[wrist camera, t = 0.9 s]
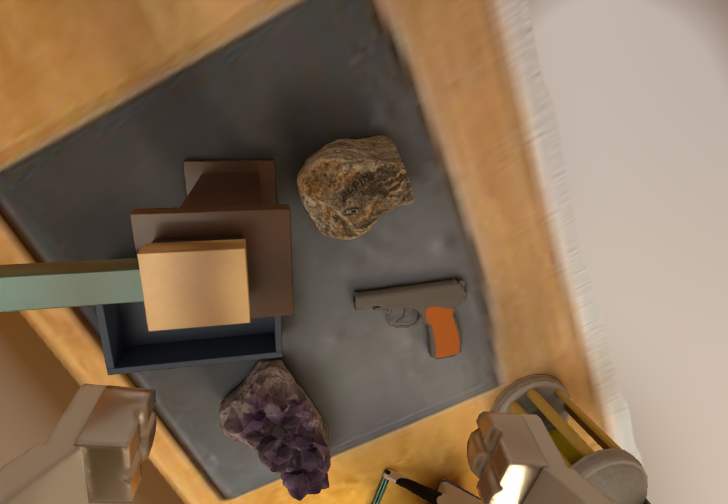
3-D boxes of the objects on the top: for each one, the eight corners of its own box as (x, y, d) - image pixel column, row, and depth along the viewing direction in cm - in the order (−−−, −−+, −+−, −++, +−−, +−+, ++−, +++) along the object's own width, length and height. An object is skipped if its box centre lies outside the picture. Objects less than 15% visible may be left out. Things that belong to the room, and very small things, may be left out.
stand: (184, 159, 51) (129, 214, 28) (274, 159, 54) (290, 208, 31) (191, 227, 54) (146, 327, 31) (277, 224, 56) (293, 315, 33)
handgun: (356, 365, 66) (352, 289, 61) (459, 348, 69) (461, 274, 65) (359, 372, 64) (355, 294, 60) (464, 354, 67) (467, 279, 63)
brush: (7, 318, 29) (-24, 346, 26) (-13, 243, 27) (-49, 263, 24) (250, 299, 32) (250, 322, 29) (245, 232, 30) (245, 248, 27)
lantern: (576, 375, 76) (717, 498, 53) (550, 445, 80) (671, 587, 57) (502, 372, 72) (619, 502, 49) (479, 445, 76) (577, 598, 53)
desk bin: (106, 262, 53) (89, 280, 48) (276, 252, 57) (279, 269, 52) (121, 348, 57) (107, 375, 52) (280, 334, 61) (282, 357, 56)
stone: (309, 257, 55) (312, 217, 46) (287, 186, 58) (287, 136, 49) (411, 232, 58) (433, 190, 49) (385, 166, 62) (400, 117, 53)
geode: (356, 431, 69) (365, 489, 60) (293, 464, 71) (292, 526, 62) (281, 341, 61) (278, 394, 52) (209, 381, 62) (195, 439, 53)
